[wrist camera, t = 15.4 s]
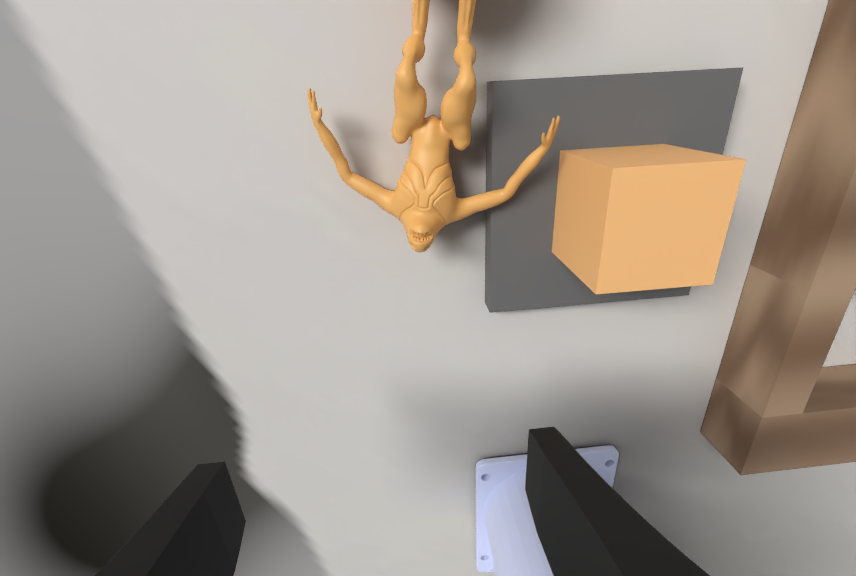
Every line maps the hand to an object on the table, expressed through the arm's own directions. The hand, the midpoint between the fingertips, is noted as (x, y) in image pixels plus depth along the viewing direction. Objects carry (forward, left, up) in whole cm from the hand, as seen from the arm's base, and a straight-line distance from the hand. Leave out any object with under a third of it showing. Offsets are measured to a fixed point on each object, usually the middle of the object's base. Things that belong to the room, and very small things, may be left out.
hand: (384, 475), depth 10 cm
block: (+4, -9, -8) cm, 13 cm away
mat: (+4, -9, -9) cm, 14 cm away
